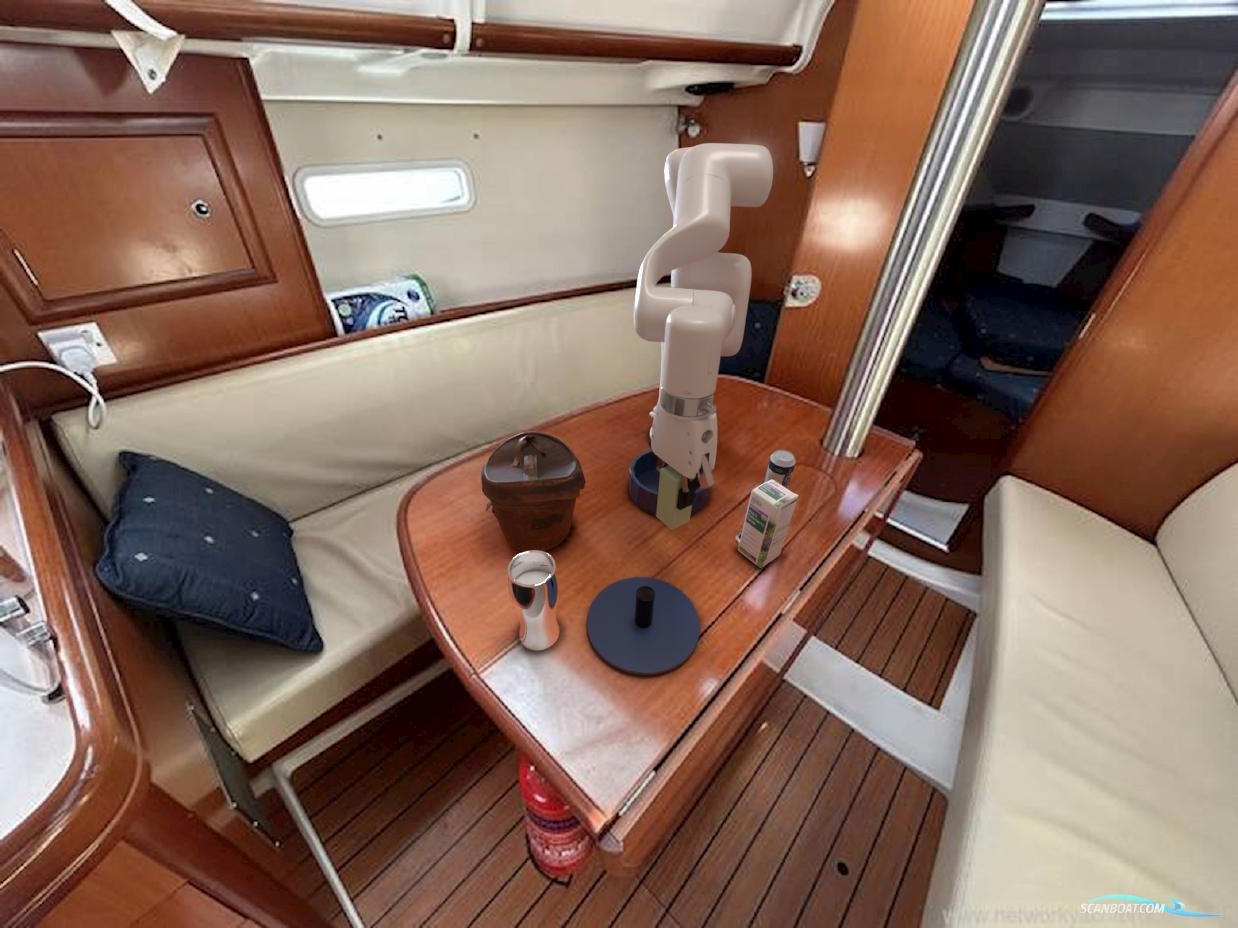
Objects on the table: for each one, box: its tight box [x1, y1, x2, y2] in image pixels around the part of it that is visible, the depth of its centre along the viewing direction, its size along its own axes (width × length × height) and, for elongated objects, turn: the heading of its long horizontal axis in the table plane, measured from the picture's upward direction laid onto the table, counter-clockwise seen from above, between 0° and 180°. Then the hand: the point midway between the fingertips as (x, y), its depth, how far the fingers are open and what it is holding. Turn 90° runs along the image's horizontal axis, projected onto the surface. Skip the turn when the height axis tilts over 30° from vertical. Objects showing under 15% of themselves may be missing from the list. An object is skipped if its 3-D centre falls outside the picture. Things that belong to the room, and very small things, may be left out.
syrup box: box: [737, 479, 799, 569], centre depth 88 cm, size 6×6×14 cm
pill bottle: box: [763, 449, 797, 490], centre depth 100 cm, size 5×5×12 cm
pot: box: [628, 448, 713, 516], centre depth 104 cm, size 17×17×5 cm
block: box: [655, 465, 693, 531], centre depth 81 cm, size 4×4×10 cm
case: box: [480, 430, 587, 552], centre depth 91 cm, size 18×20×18 cm
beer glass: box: [506, 550, 560, 652], centre depth 73 cm, size 7×7×15 cm
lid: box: [586, 576, 701, 676], centre depth 77 cm, size 18×18×8 cm
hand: (675, 497), depth 81 cm, fingers closed on block, 4 cm apart
